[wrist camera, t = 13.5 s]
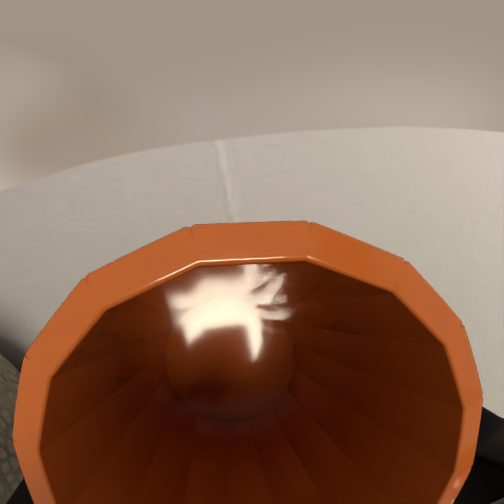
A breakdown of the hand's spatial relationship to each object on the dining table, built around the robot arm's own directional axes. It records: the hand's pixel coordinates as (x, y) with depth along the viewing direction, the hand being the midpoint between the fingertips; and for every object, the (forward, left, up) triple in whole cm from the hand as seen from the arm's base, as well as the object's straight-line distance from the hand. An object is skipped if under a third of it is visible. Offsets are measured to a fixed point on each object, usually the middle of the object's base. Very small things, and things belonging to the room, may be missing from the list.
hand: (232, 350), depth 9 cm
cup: (-1, -1, -7) cm, 7 cm away
